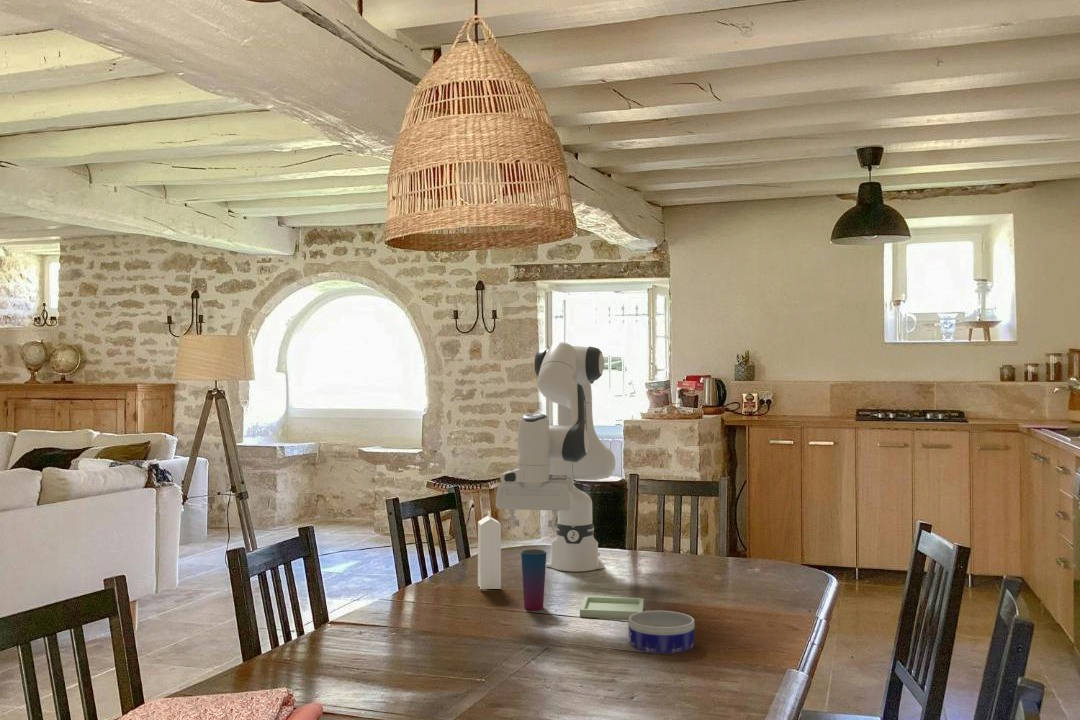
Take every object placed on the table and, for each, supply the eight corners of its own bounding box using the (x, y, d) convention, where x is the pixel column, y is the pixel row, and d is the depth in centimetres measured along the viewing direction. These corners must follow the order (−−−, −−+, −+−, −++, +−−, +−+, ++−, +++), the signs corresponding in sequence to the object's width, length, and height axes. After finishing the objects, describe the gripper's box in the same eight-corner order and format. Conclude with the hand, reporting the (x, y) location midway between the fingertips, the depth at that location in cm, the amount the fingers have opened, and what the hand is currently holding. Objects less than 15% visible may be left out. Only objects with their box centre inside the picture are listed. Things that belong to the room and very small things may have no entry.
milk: (480, 590, 265) (480, 514, 265) (477, 585, 271) (477, 510, 271) (501, 589, 266) (501, 513, 266) (498, 584, 272) (497, 509, 272)
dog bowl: (617, 638, 219) (617, 613, 219) (674, 632, 225) (674, 607, 225) (647, 657, 205) (646, 630, 205) (707, 650, 210) (707, 623, 210)
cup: (543, 611, 242) (543, 554, 242) (518, 610, 244) (518, 553, 244) (548, 605, 249) (548, 549, 249) (524, 603, 250) (524, 548, 250)
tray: (584, 602, 251) (584, 596, 251) (643, 604, 249) (643, 598, 249) (579, 616, 237) (579, 609, 237) (642, 619, 235) (642, 611, 235)
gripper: (573, 474, 248) (573, 525, 248) (498, 472, 251) (498, 523, 251) (571, 476, 242) (571, 529, 242) (494, 475, 245) (494, 527, 244)
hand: (533, 526), depth 246 cm, fingers open, 8 cm apart
